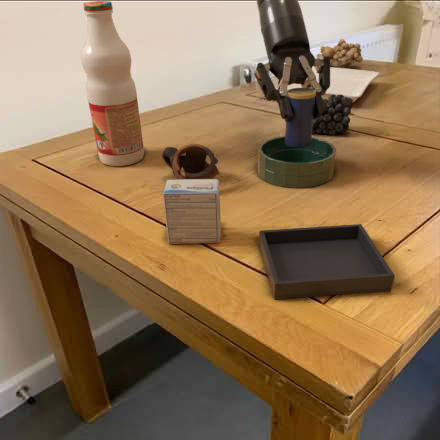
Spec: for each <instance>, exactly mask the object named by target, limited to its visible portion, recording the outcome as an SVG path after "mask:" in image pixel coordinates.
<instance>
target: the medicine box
mask: <svg viewBox="0 0 440 440" xmlns="http://www.w3.org/2000/svg"><path fill="white" fill-rule="evenodd" d="M220 189H221V188H220V180H219V179H217V178H213V179H184V180H178V179H167V180H166V182H165V186H164V188H163V191H162V199H163V206H164V207H163V208H164V217H165V224H166V225H165V226H166V235H167V242H168V243H167V244H169V245H170V244H171V245H172V244H177V245H178V244H220V243H221V234H222V218H221V216H222V215H221V195H220V194H221V191H220Z"/></svg>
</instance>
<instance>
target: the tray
mask: <svg viewBox="0 0 440 440" xmlns="http://www.w3.org/2000/svg"><path fill="white" fill-rule="evenodd" d="M258 233H259V234H258V239H259V240H258V247H259V251H260V254H261V257H262V261H263V264H264V268H265V271H266V275H267V279H268V283H269V286H270V289H271V293H272V296H273V299H274V300H288V299H301V298H316V297H329V296H343V295H345V296H346V295H357V294H370V293H371V294H372V293H383V292H385V293H386V292H391V291H392V290H393V285H394V281H395V273H394V272H393V270H392V268H391V267H390V266H389V264H388V263H387V261H386V260H385V258H384V257H383V255H382V253H381V252H380V251H379V249H378V247H377V246H376V244H375V243H374V241H373V240H372V238H371V237H370V235H369V233H368V232H367V231H366V229H365V227H364V226H363V224H362V223H358V224H357V223H355V224H339V225H327V226H326V225H324V226H311V227H310V226H309V227H295V228H293V227H292V228H279V229H265V230H259V232H258Z"/></svg>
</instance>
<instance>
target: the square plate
mask: <svg viewBox="0 0 440 440" xmlns="http://www.w3.org/2000/svg"><path fill="white" fill-rule="evenodd" d="M312 70H313V72H314V74H315V75H316V80H317V82H318V83H319V73H317V71H316V68H315V67H314V66H313V67H312ZM378 76H380V72H379V71H373V70H365V69H364V70H363V69H355V68H346V67H344V68H336V67H334V66H330V87H329V88H328V89H327V91H326V93H325V94H324V95H321V96H322V100H324V99H327V100H328V98H329V97H330V96H331V95H333V94H334V95H335V96H338V95H339V94H341V95H343V96H344V97H347V98H351V99H352V100H353V103H354V102H356V101H357V100H358V98H361V97H362V96H363V94H364V92H365V91H366V89H367V88H368V87H369V85H370V84H371V83H373V81H374V80H375V79H376V78H377V77H378ZM271 80H272V82H273V84H274V86H275V88H276V89H277V85H278V79H277V78H276V77H275V76H274V77H272V78H271ZM306 80H307V79H306ZM293 88H302V86H301V85H300V84H291V85H288V88H287V91H288V90H290V89H293ZM259 90H261V88H260V87H259ZM286 96H287V94H286Z"/></svg>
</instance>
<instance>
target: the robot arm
mask: <svg viewBox="0 0 440 440" xmlns="http://www.w3.org/2000/svg"><path fill="white" fill-rule="evenodd" d="M255 1H256V6H257V10H258V15H259V25H260V32H261V35H262V38H263V43H264V47H265V52H266V57H267V59H268V62H267V63H263V62H258V63H257V65H256V67H255V69H254V73H253V75H254V77H255V79H256V81H257V84H258V85H259V89H260V88H261V89H260V91H262V94H263V95H264V99H266V101H268V102H271V101H275V102H276V103H277V106H278V109H279V113H280V117H281V119H282V120H284V122H285V123H286V122H290V121H291V119H292V117H293V114H292V109H291V105H290V101H289V97H288V96H286V94H287V88H288V85H291V84H300V85H301V86H302V88H310V89H314V90H315V91H316V96H315V107H314V118H315V119H316V118H320V116H321V115H322V113H323V111H324V104H323V100H322V96H321V95H324V94H325V93H326V91H327V89H328V88H329V87H330V67H331V66H330V58H329V57H324V59H317V57H315V55H314V54H313V53H312V51H311V46H310V45H311V44H310V40H309V35H308V31H307V27H306V23H305V19H304V15H303V11H302V8H301V4H300V3H299V0H255ZM313 66H314V67H315V68H316V71H317V73H319V83H318V82H317V80H316V75H315V74H314V72H313V70H312V67H313ZM270 73H271V74H272V75H273V76H274V77H276V78H277V79H278V85H277V89H276V88H275V86H274V84H273V82H272V80H271V79H272V78H271V75H270ZM306 79H307V80H306Z"/></svg>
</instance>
